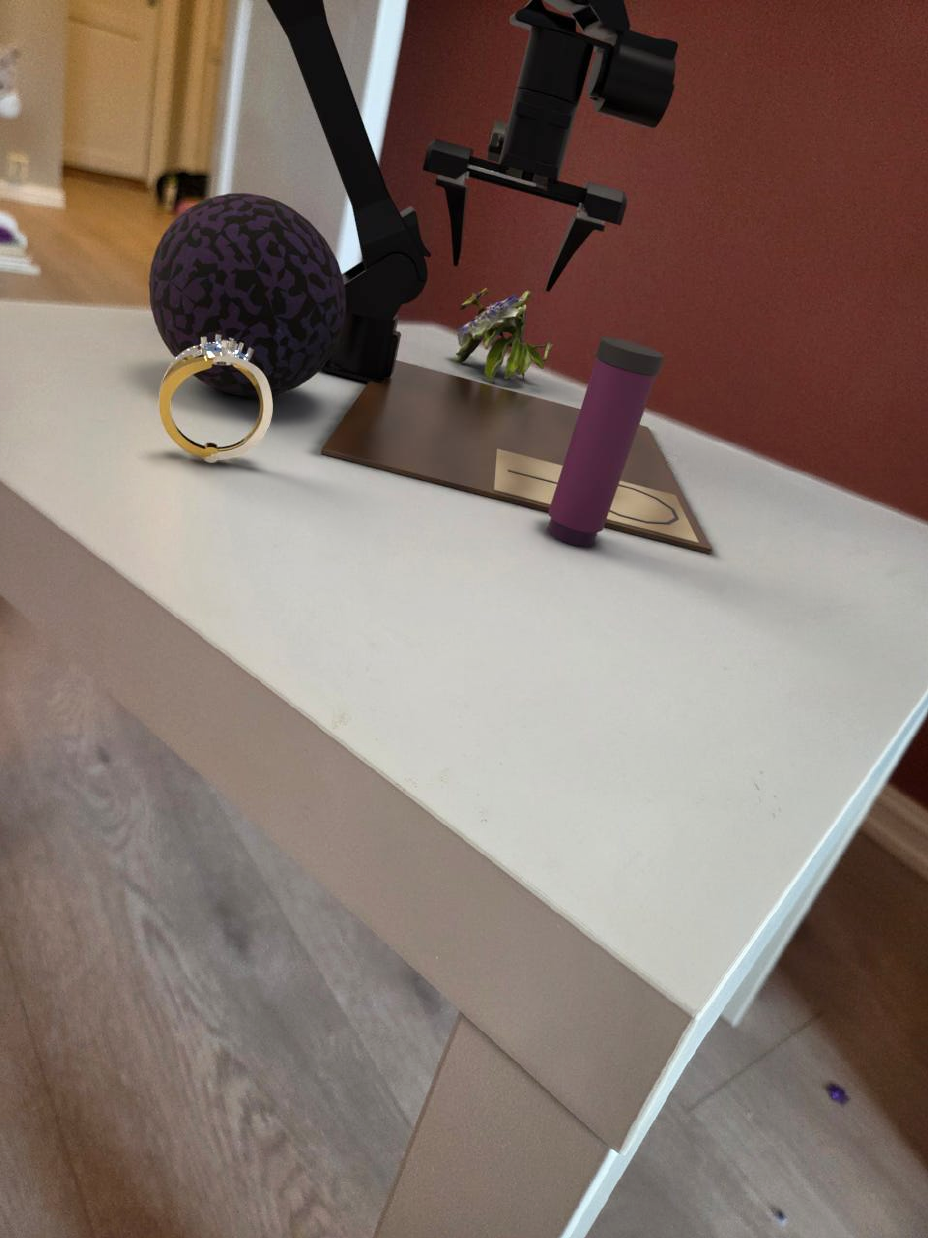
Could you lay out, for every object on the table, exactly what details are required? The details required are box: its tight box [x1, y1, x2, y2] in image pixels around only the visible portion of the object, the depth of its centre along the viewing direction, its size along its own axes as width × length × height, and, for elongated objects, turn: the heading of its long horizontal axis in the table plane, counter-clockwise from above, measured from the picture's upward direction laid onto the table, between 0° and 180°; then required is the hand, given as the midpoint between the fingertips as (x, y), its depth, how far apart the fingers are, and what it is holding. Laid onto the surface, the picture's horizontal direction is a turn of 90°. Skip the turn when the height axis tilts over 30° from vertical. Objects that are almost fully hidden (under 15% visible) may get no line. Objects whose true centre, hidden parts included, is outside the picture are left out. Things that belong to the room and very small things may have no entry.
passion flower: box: [454, 287, 554, 383], centre depth 104 cm, size 11×11×12 cm
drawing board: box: [320, 359, 713, 555], centre depth 81 cm, size 30×36×1 cm
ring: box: [158, 333, 274, 464], centre depth 56 cm, size 7×3×8 cm, turn 107°
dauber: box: [547, 336, 665, 547], centre depth 59 cm, size 4×4×13 cm
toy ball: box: [148, 192, 346, 398], centre depth 69 cm, size 15×15×15 cm
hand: (501, 278), depth 86 cm, fingers open, 9 cm apart
